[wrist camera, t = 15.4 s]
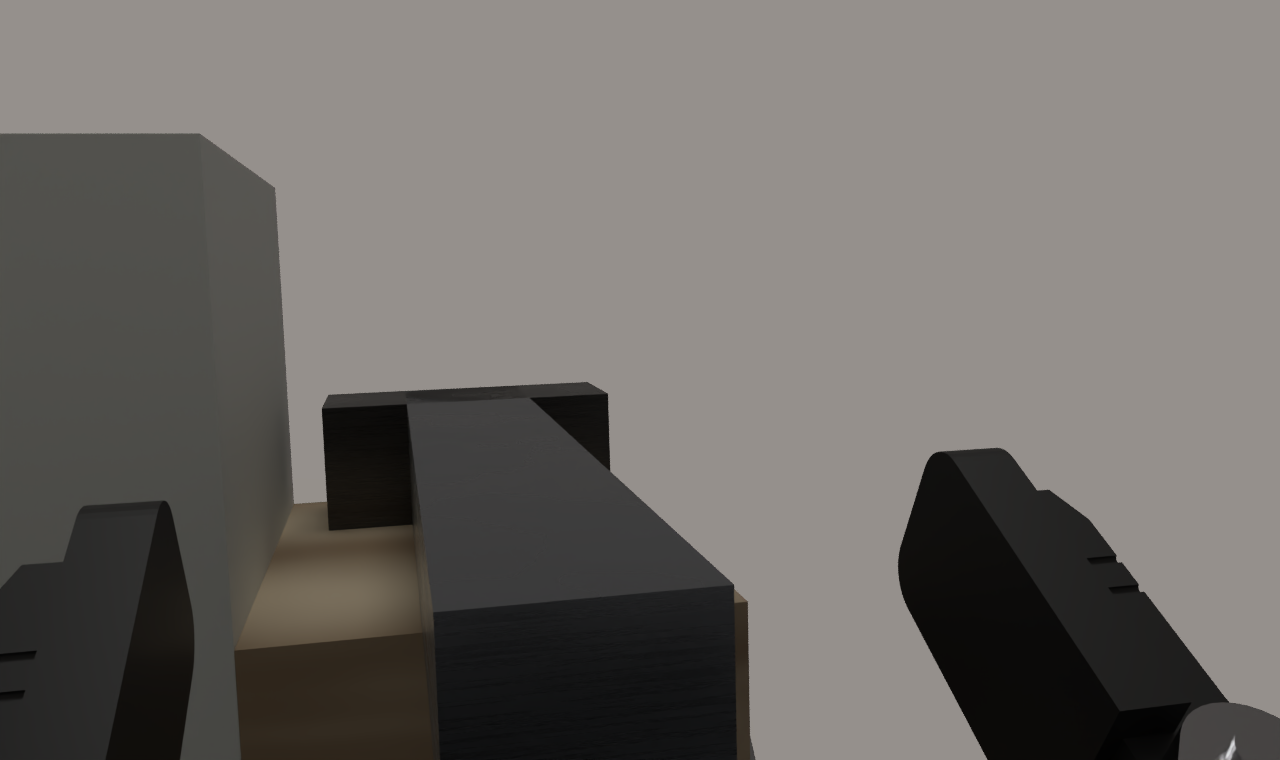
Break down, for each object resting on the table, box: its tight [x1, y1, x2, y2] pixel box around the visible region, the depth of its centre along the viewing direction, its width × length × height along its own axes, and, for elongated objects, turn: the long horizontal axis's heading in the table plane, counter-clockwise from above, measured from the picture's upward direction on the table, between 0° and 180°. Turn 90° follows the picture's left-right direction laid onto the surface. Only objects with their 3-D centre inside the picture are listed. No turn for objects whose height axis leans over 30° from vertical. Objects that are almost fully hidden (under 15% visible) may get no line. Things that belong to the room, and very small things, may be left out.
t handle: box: [322, 382, 737, 760], centre depth 21 cm, size 20×7×3 cm, turn 13°
